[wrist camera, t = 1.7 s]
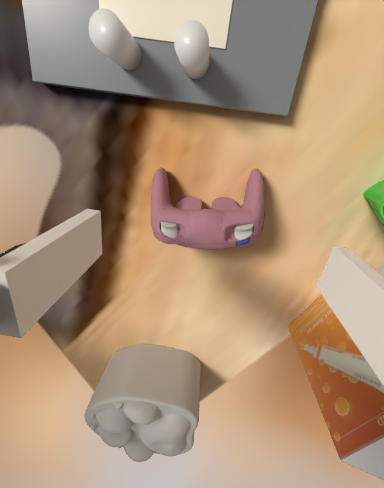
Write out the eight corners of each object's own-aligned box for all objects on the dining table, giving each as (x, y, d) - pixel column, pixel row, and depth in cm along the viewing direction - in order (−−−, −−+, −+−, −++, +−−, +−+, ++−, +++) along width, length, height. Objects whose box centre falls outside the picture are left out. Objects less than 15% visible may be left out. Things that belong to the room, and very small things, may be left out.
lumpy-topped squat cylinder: (193, 400, 35) (189, 475, 28) (109, 387, 36) (80, 458, 28) (203, 351, 31) (201, 424, 23) (107, 337, 31) (72, 404, 23)
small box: (334, 277, 25) (446, 405, 13) (379, 304, 26) (520, 444, 14) (285, 326, 28) (339, 463, 16) (326, 348, 29) (405, 492, 17)
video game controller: (160, 201, 24) (147, 256, 20) (153, 162, 21) (136, 218, 17) (255, 203, 24) (264, 260, 19) (265, 163, 20) (278, 221, 16)
